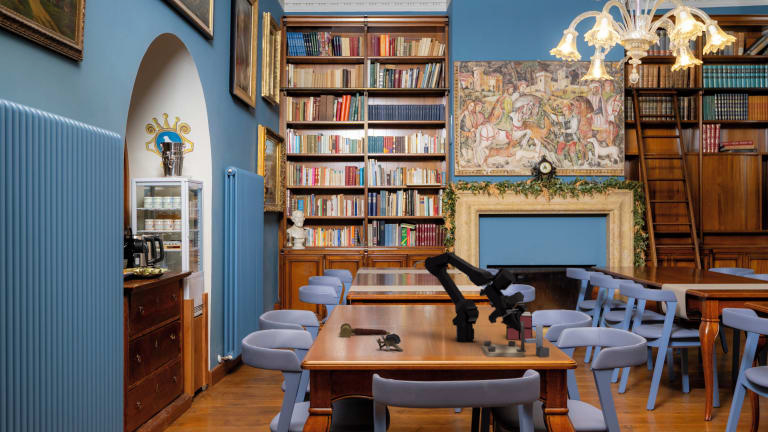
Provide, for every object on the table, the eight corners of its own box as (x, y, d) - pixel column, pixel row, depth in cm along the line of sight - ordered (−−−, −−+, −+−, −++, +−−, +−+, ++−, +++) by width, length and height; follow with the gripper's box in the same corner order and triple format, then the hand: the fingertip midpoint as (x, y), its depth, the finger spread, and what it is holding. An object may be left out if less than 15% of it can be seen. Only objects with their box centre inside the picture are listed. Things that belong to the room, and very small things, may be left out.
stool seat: (487, 356, 192) (487, 322, 193) (481, 348, 205) (481, 316, 206) (526, 357, 192) (526, 322, 192) (518, 348, 205) (518, 316, 205)
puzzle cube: (532, 341, 219) (532, 315, 220) (506, 339, 221) (506, 315, 222) (530, 336, 229) (530, 312, 229) (506, 335, 231) (506, 311, 231)
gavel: (389, 325, 236) (391, 329, 226) (389, 336, 236) (390, 341, 226) (340, 322, 235) (340, 327, 225) (340, 333, 235) (339, 338, 225)
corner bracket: (537, 355, 194) (537, 347, 194) (546, 355, 195) (546, 346, 195) (539, 357, 192) (539, 348, 192) (549, 356, 193) (549, 348, 193)
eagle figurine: (376, 350, 197) (401, 346, 196) (375, 331, 201) (399, 327, 200) (381, 357, 204) (405, 353, 202) (380, 339, 208) (403, 335, 206)
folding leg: (527, 355, 193) (526, 326, 193) (523, 353, 196) (523, 325, 196) (544, 354, 195) (544, 326, 195) (540, 352, 197) (540, 324, 197)
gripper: (495, 286, 198) (522, 321, 190) (523, 282, 211) (549, 315, 203) (477, 305, 204) (502, 340, 196) (506, 300, 217) (530, 333, 209)
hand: (522, 332), depth 201 cm, fingers closed
